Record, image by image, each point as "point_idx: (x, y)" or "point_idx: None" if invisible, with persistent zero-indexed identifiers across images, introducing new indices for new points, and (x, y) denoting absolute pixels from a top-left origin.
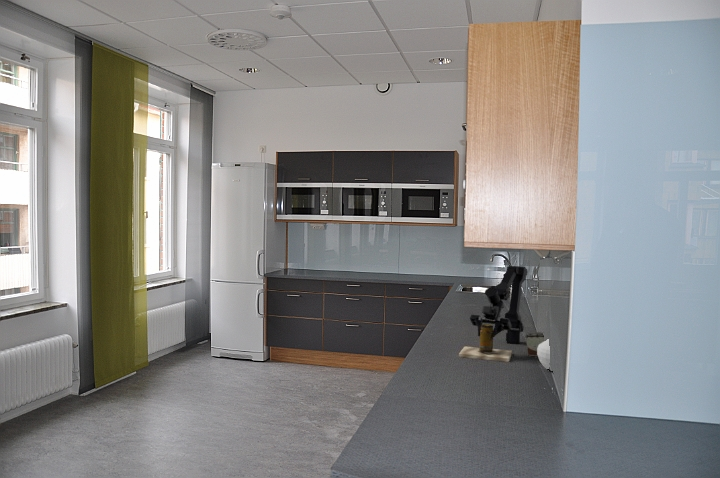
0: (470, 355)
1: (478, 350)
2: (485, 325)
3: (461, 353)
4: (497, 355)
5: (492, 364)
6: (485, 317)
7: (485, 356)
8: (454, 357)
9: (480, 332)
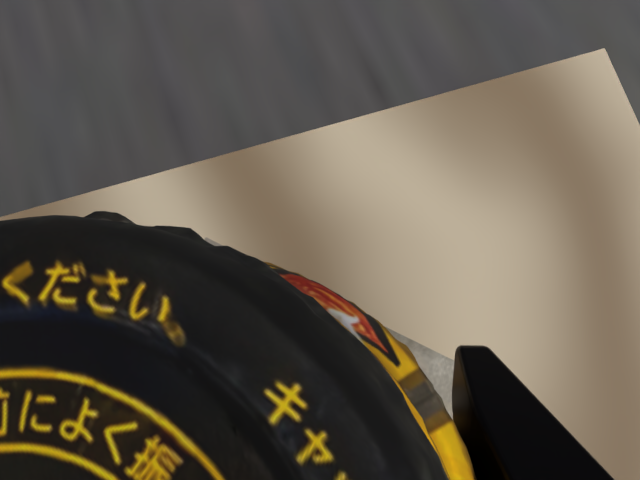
0: (428, 104)
1: (407, 343)
2: (71, 424)
3: (580, 82)
4: None
5: (73, 19)
6: None
7: (209, 159)
8: (619, 18)
9: (411, 359)
